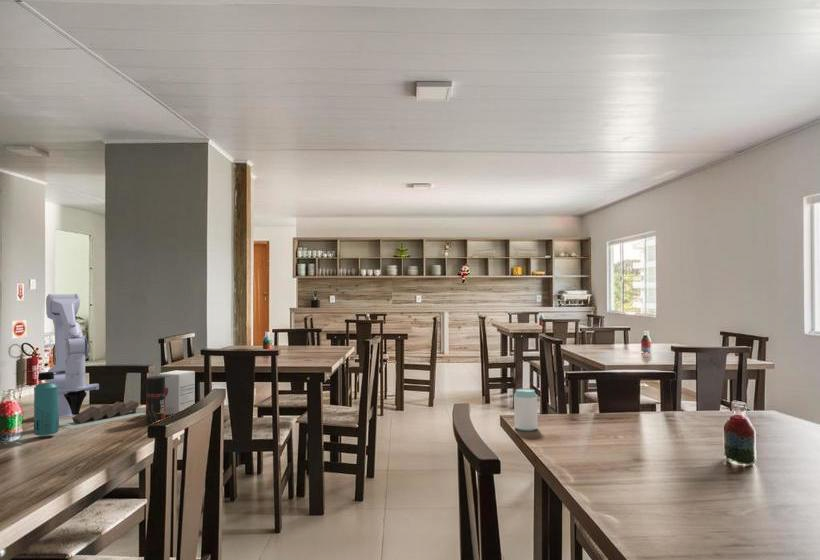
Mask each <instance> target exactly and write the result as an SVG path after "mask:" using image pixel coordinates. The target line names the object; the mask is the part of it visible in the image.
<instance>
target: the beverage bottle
mask: <svg viewBox="0 0 820 560" xmlns="http://www.w3.org/2000/svg"><path fill="white" fill-rule="evenodd" d="M54 374H55V373H53V372H48V371H44V372H39V373H38V375H37V381H47V380H50V379H54ZM33 398H34V399H33V433H34V436H49V435H55V434H57V433H58V432H59V431H60V428H59V427H60V426H59V424H58V423H59V421H60V418H59V416H58V385H57V384H55V383H53V382H50V383H47V382H42V383H37V385H35V386H34V388H33Z"/></svg>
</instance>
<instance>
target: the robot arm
mask: <svg viewBox="0 0 820 560" xmlns="http://www.w3.org/2000/svg"><path fill="white" fill-rule="evenodd" d="M80 304H81V299H80V295H78V293H73V294H68V293H67V294H66V293H65V294H63V293H61V294H51V293H49V294H48V295H47V296H46V299H45V308H46V311H45V312H46V317H47V319H50V320H52V323H53V327H54V328H53V331H54V349H55V350H54V352H55V364H54V365H53V366H52V367H50V368H49V369H48V371H47V372H53V373H54V379H50V380H46V383H50V382H53V383H55V384H57V385H58V416H59V419H62V418H63V419H64V418H69V417H74V416H76V415H77V414H79V413H80V411H81V407H82V404H83V402H84V400H85V398H86V397H87V392H89V391H94V390H96V391H98V390H99V389H100V384H99V383H90V384H86V355H87V353H88V349H89V347H88V346H89V345H88V339H87V337H86V336H85V335H83V331H82V328H81V324H80V323H78V322H76V317H77V315H78V312H79V309H80V307H81V305H80Z"/></svg>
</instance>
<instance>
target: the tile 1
mask: <svg viewBox="0 0 820 560" xmlns="http://www.w3.org/2000/svg"><path fill="white" fill-rule="evenodd" d="M98 413H100V410H99V407H97V406H92V405H91V406H89V407H88V408H86V409H84V410H82V411H81V412H79V414H77V415H75V416H71V419H73V421H74V422H75V423H79V424H82V423H83V422H85V421H87V420H88V419H90V418H92V417H93V416H95V415H97V414H98Z"/></svg>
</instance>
